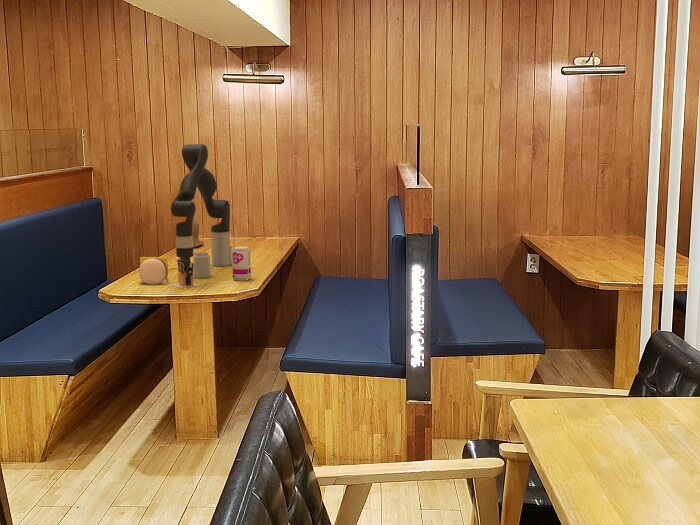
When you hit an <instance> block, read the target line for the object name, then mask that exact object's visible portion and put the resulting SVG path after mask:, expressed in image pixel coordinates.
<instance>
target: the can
mask: <svg viewBox="0 0 700 525" xmlns="http://www.w3.org/2000/svg"><path fill="white" fill-rule="evenodd" d="M192 258H193V262H192V263H193V264H194V265H193V278H195V279H206V278H207V279H209V278H210V277H211V257H210V255H209V253H208V251H197V252H194V256H193V257H192Z"/></svg>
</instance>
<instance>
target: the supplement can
mask: <svg viewBox="0 0 700 525" xmlns="http://www.w3.org/2000/svg"><path fill="white" fill-rule="evenodd" d="M251 269H252V268H251V250H250V247H249V246H245V245H244V246H240V245H239V246H234V247H233V248H232V279H233V280H234V281H236V280H246V281H248V280H247V279H249V280H250V279H251V277H252V275H251V274H252V273H251Z"/></svg>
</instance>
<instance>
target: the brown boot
mask: <svg viewBox="0 0 700 525" xmlns="http://www.w3.org/2000/svg"><path fill="white" fill-rule="evenodd" d="M199 234H200V225H199V222H198V221H195V220H193V224H192V237H193V248H196V247H199V246H202V245H203V244H204V243H205V242H204V241H201V240H199Z"/></svg>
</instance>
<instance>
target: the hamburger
mask: <svg viewBox="0 0 700 525" xmlns="http://www.w3.org/2000/svg"><path fill="white" fill-rule="evenodd" d="M139 263H140V266H139V268H138V269H139V270H138V274H139V280H140V283H142V284H143V283H145V284H147V285H159V284H161V285H162V284H163V285H165V284H166V285H167V284H168V283H169V269H168V268H169V266H168V257H167V256H159V257H158V256H148V257H147V256H141V257H139Z"/></svg>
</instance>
